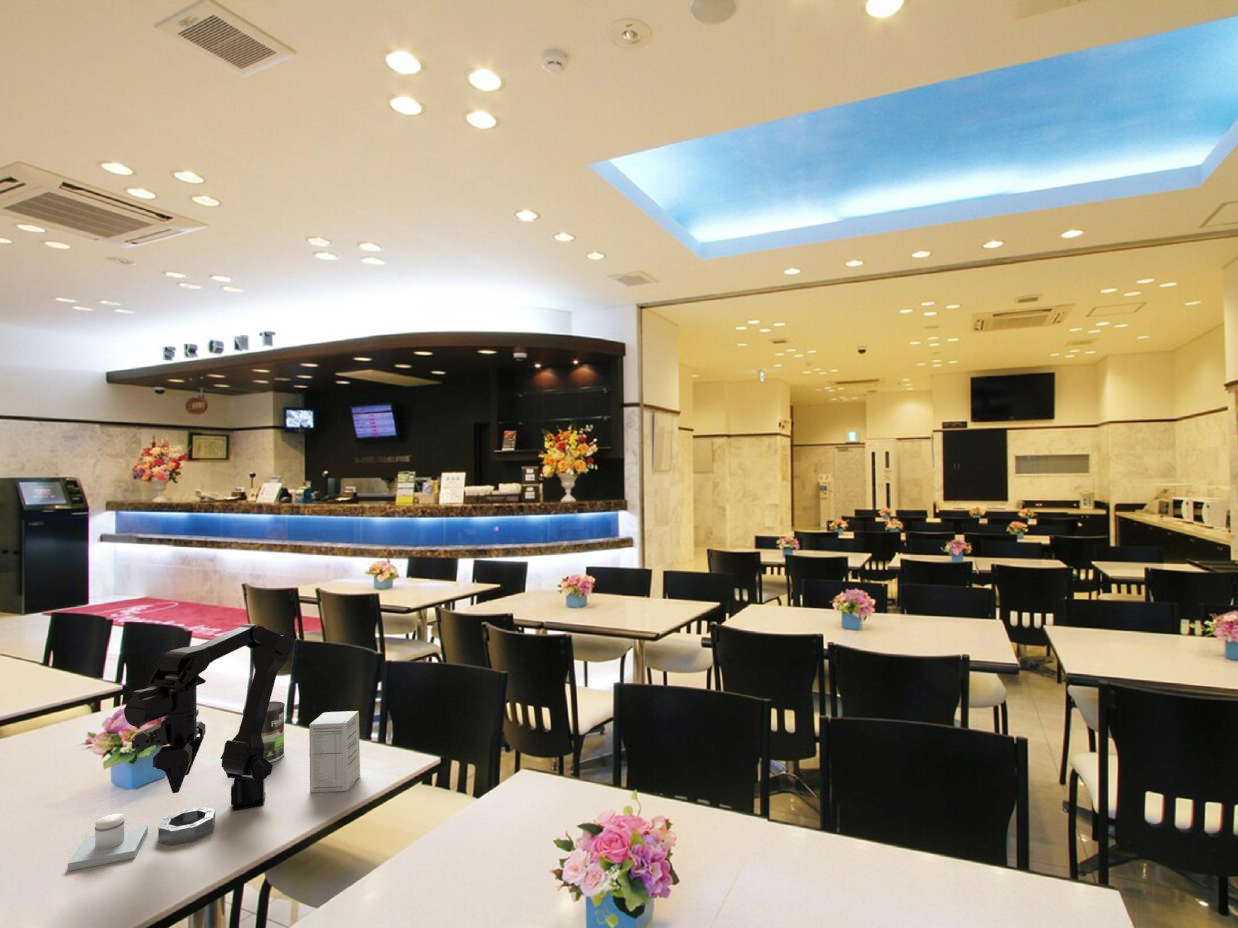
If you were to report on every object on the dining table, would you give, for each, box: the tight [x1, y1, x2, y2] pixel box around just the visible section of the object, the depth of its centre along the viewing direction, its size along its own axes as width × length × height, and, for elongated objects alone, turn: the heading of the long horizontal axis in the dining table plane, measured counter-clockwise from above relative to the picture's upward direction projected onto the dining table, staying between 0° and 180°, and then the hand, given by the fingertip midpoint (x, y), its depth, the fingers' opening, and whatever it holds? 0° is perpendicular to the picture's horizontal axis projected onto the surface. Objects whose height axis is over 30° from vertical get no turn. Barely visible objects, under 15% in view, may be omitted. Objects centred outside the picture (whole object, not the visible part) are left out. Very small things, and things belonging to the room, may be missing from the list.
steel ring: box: [157, 806, 216, 846], centre depth 148 cm, size 10×10×3 cm
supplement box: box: [308, 710, 361, 793], centre depth 171 cm, size 10×9×17 cm
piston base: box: [67, 813, 149, 872], centre depth 140 cm, size 11×11×6 cm
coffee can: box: [242, 700, 286, 764], centre depth 188 cm, size 10×10×14 cm
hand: (180, 783), depth 144 cm, fingers open, 9 cm apart
